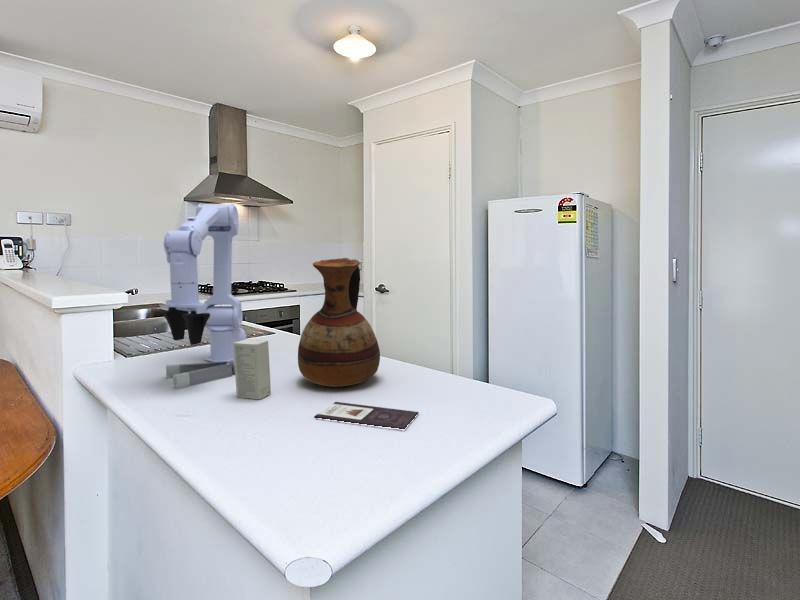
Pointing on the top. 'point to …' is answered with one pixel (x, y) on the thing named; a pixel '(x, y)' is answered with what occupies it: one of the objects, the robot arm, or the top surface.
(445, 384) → the top surface
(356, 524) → the top surface
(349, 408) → the chocolate bar
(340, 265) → the ceramic pitcher
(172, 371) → the bar
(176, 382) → the tongs moving leg
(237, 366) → the skincare box
